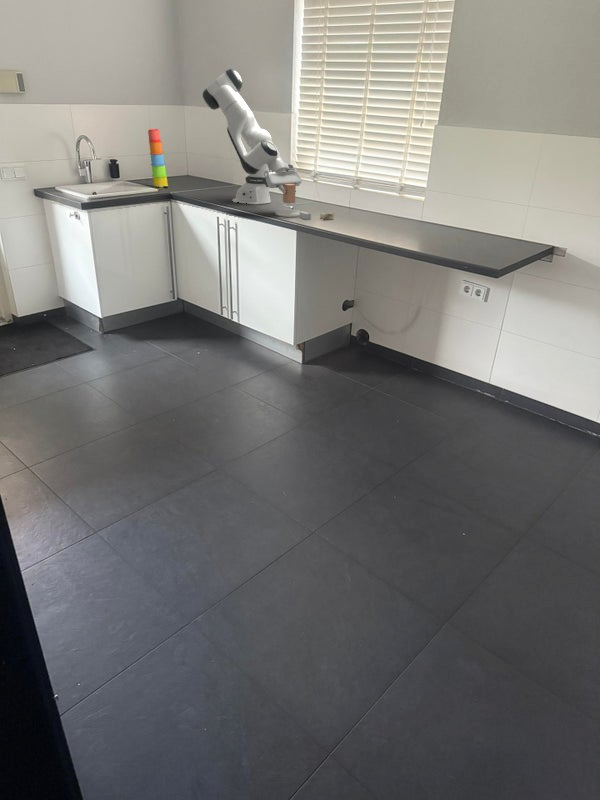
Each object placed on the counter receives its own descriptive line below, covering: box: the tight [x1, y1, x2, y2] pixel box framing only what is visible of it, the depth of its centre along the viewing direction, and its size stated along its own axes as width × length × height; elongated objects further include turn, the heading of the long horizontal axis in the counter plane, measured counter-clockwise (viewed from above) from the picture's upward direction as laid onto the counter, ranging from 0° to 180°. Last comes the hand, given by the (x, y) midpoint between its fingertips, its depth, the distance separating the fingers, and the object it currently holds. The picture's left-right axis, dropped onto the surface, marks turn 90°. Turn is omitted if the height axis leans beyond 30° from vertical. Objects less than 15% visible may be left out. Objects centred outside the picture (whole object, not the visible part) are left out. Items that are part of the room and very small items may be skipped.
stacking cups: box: [147, 128, 169, 187], centre depth 362 cm, size 10×10×35 cm
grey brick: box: [299, 211, 312, 220], centre depth 289 cm, size 6×3×3 cm, turn 33°
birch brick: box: [319, 212, 335, 221], centre depth 288 cm, size 6×3×3 cm, turn 117°
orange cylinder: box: [282, 184, 297, 205], centre depth 292 cm, size 4×4×9 cm
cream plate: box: [275, 209, 304, 218], centre depth 297 cm, size 15×15×1 cm
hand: (290, 192), depth 292 cm, fingers closed on orange cylinder, 4 cm apart
